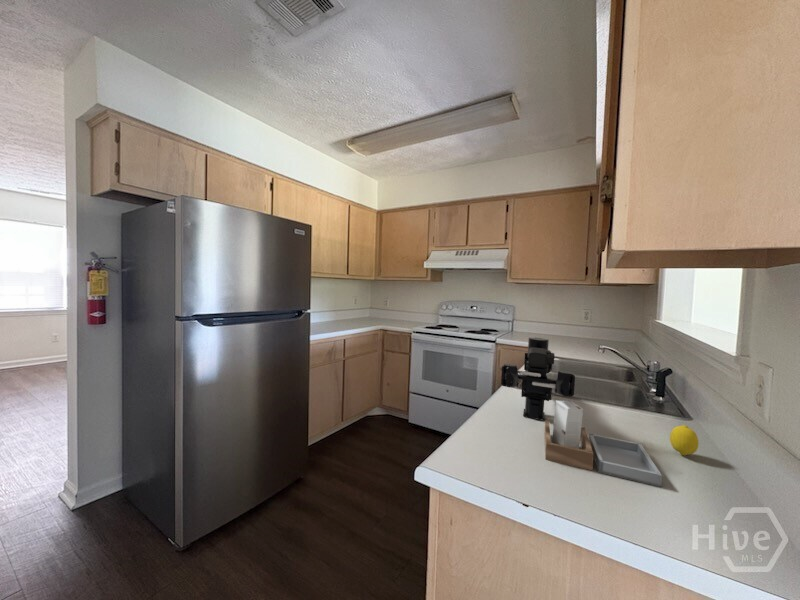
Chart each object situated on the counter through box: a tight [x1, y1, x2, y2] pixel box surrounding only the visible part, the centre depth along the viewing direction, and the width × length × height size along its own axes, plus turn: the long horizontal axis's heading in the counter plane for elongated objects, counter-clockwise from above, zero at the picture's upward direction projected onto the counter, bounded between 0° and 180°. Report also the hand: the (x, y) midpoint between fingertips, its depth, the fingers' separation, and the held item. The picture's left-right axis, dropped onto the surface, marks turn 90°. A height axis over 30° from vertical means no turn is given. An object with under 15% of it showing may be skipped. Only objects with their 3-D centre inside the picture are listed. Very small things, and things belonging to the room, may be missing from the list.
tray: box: [588, 433, 663, 488], centre depth 78 cm, size 16×12×3 cm
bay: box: [543, 419, 594, 471], centre depth 83 cm, size 16×10×4 cm, turn 156°
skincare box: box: [551, 399, 584, 449], centre depth 83 cm, size 6×4×12 cm
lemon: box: [669, 424, 699, 457], centre depth 82 cm, size 6×6×8 cm
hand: (536, 387), depth 81 cm, fingers open, 9 cm apart
